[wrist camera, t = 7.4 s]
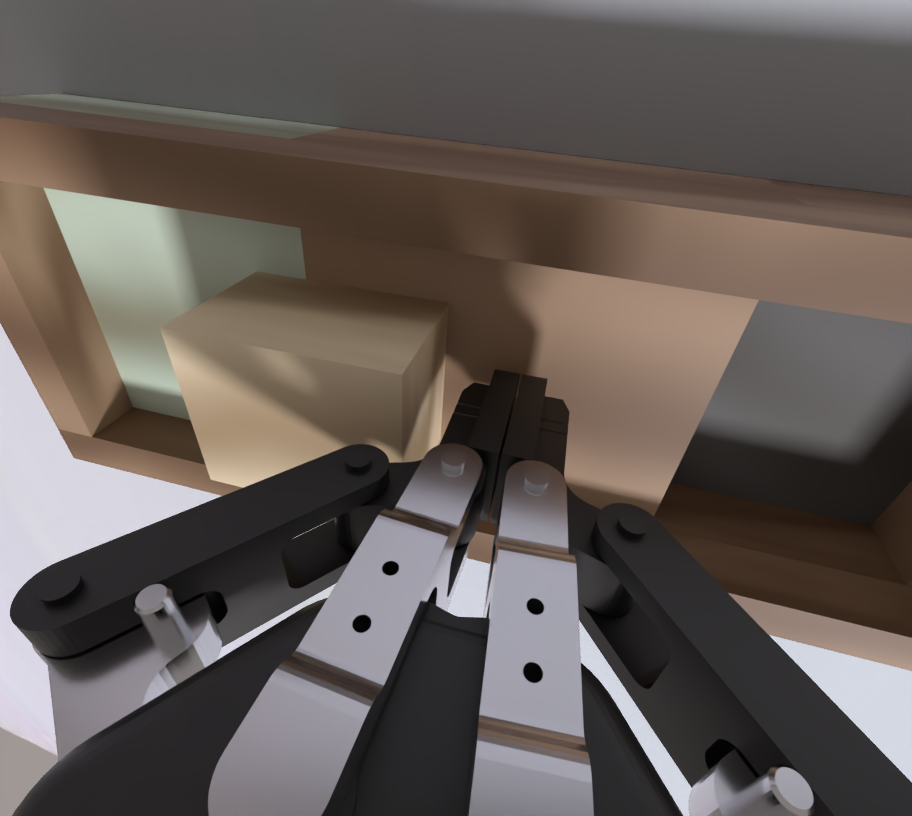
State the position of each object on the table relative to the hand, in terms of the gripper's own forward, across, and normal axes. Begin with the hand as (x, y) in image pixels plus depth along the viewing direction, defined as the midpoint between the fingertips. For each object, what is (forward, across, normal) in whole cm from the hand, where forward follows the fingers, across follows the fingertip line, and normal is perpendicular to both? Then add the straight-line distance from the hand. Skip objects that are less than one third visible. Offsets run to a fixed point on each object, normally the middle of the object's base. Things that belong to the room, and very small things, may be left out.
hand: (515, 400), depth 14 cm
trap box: (+4, +1, 0) cm, 4 cm away
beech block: (+1, +5, 0) cm, 5 cm away
